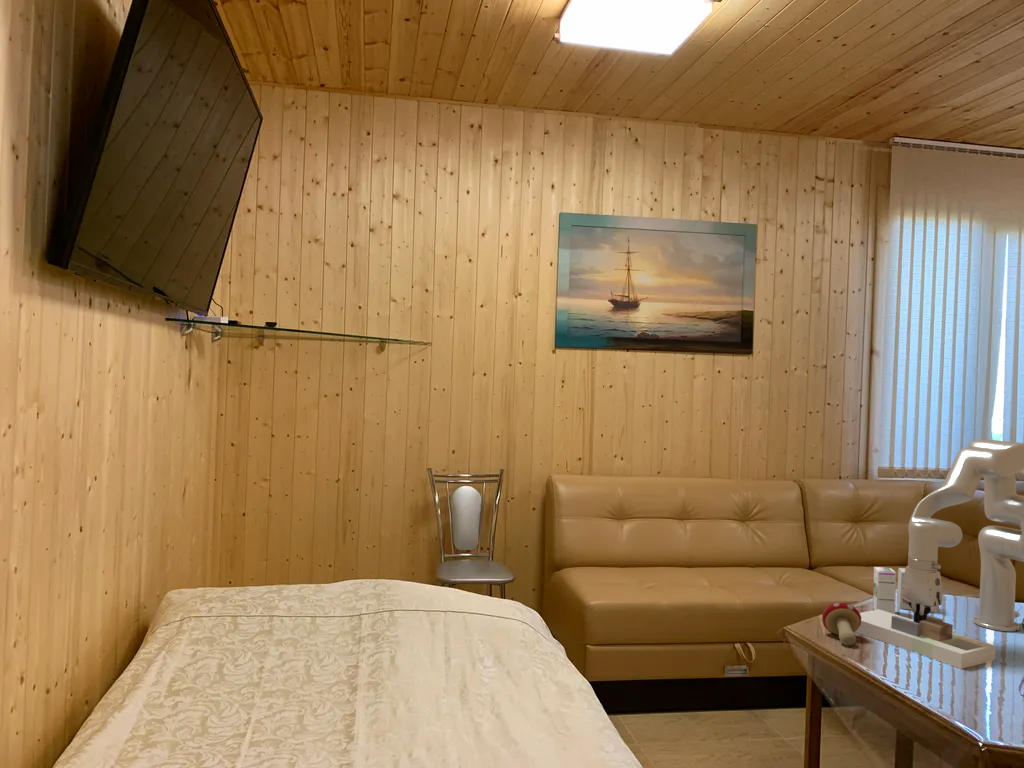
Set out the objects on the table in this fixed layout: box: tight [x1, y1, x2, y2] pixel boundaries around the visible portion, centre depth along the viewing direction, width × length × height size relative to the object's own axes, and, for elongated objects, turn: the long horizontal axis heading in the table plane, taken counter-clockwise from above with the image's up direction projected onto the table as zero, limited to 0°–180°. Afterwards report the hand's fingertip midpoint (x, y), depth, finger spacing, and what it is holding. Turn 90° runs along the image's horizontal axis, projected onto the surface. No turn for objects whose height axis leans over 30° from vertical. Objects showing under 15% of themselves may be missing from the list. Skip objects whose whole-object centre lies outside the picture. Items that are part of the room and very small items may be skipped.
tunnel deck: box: [854, 609, 997, 670], centre depth 226 cm, size 16×36×8 cm, turn 29°
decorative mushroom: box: [821, 601, 861, 647], centre depth 228 cm, size 11×11×15 cm
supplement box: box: [896, 567, 912, 611], centre depth 263 cm, size 7×7×13 cm
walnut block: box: [919, 619, 954, 641], centre depth 220 cm, size 6×6×4 cm
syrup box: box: [872, 566, 897, 615], centre depth 257 cm, size 6×6×14 cm
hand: (919, 627), depth 225 cm, fingers closed
